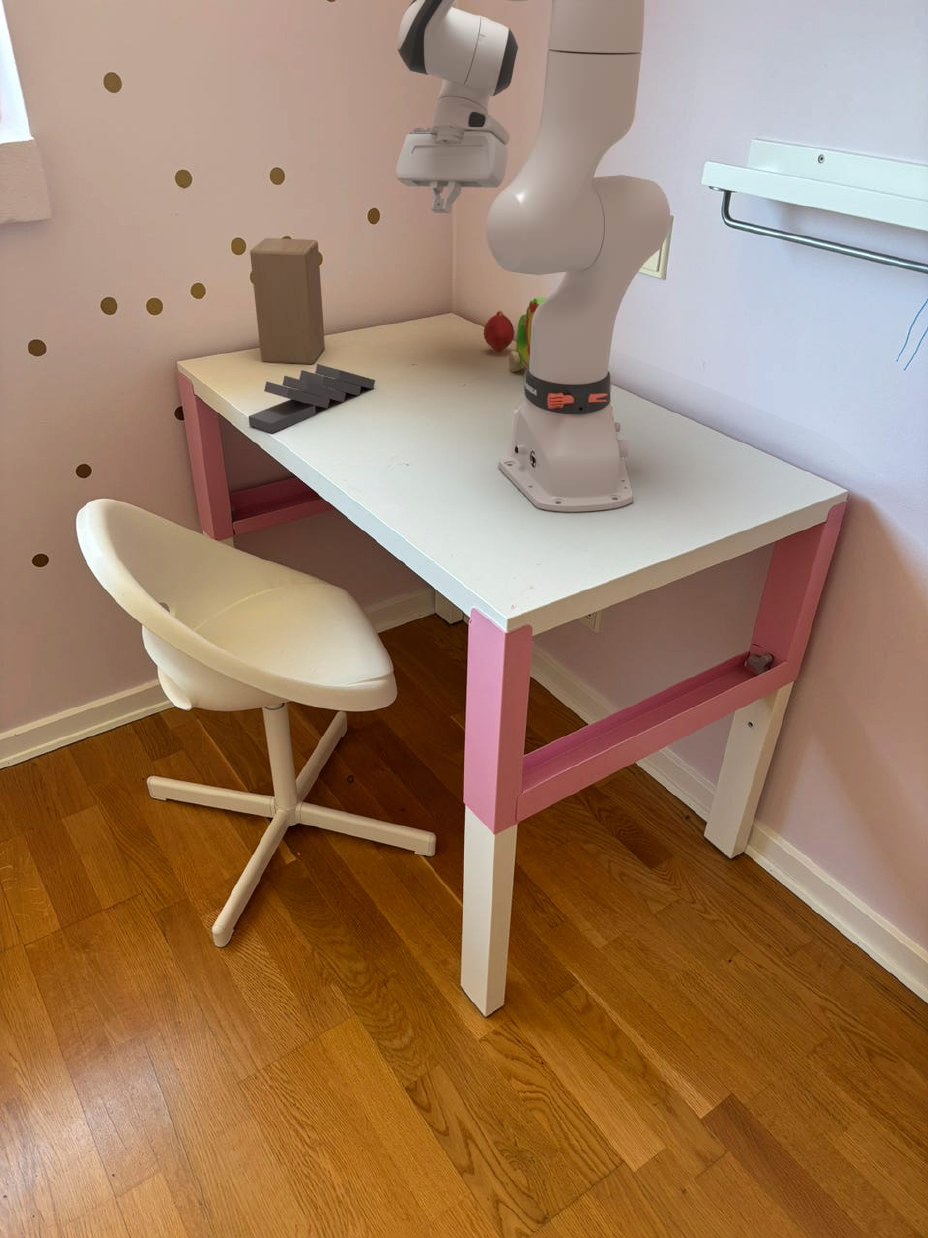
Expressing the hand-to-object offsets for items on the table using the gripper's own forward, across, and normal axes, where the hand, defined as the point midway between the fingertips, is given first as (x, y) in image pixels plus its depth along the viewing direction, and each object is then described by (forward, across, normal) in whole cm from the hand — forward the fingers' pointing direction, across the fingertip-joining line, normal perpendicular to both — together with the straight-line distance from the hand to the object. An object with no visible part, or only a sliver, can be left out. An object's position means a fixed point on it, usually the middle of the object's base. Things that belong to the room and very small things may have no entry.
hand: (440, 211), depth 159 cm
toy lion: (+23, +14, +18) cm, 33 cm away
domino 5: (+30, -9, 0) cm, 31 cm away
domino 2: (+37, -9, -14) cm, 40 cm away
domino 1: (+35, -9, -11) cm, 38 cm away
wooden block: (+26, -30, +4) cm, 40 cm away
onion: (+17, 0, +27) cm, 32 cm away
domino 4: (+32, -9, -4) cm, 33 cm away
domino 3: (+33, -9, -7) cm, 35 cm away
